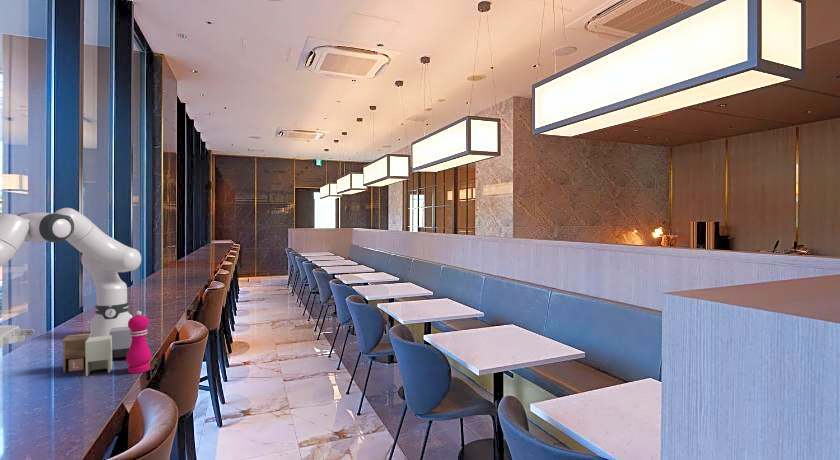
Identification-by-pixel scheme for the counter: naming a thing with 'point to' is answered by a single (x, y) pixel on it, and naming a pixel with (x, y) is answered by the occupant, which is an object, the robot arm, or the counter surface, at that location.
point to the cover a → (74, 348)
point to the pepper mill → (138, 345)
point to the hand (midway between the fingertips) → (29, 335)
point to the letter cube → (76, 364)
